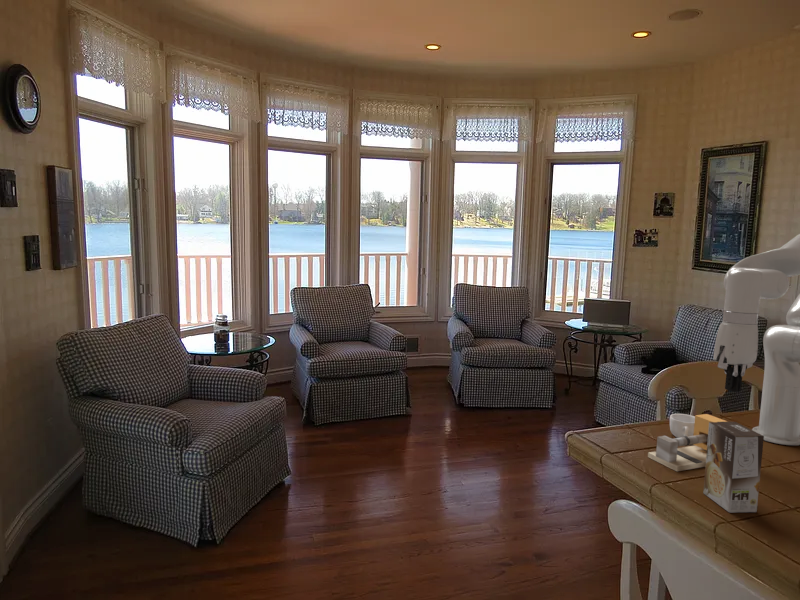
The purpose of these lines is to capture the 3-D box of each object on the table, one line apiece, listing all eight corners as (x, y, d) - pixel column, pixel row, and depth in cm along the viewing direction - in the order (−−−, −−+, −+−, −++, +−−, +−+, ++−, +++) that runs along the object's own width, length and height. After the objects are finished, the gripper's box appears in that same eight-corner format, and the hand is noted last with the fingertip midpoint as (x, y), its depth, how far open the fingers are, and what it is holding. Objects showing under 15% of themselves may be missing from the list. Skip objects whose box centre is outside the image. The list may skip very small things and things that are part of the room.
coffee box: (758, 512, 115) (766, 436, 113) (728, 513, 115) (736, 436, 113) (729, 492, 124) (735, 420, 122) (701, 492, 124) (707, 421, 122)
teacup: (667, 430, 163) (669, 412, 162) (697, 434, 160) (699, 416, 160) (669, 442, 154) (671, 422, 153) (701, 446, 151) (703, 427, 150)
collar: (704, 442, 147) (706, 413, 146) (724, 450, 142) (727, 421, 141) (692, 444, 146) (695, 415, 145) (712, 452, 140) (715, 422, 139)
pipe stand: (707, 447, 150) (709, 425, 149) (738, 460, 142) (740, 436, 141) (647, 457, 143) (649, 433, 142) (676, 471, 135) (678, 446, 134)
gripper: (747, 316, 148) (740, 385, 150) (705, 317, 143) (698, 388, 145) (775, 320, 142) (767, 392, 144) (731, 321, 136) (724, 396, 138)
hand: (732, 390), depth 144 cm, fingers closed
